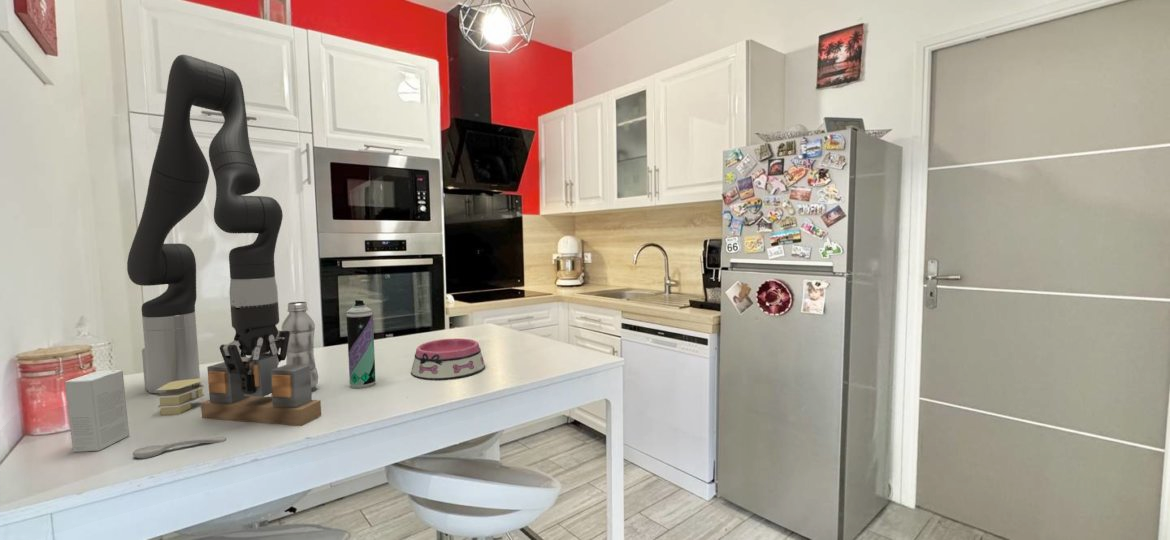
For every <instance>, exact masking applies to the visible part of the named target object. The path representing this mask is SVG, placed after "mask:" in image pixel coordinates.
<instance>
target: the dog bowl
mask: <svg viewBox="0 0 1170 540" xmlns="http://www.w3.org/2000/svg"><path fill="white" fill-rule="evenodd" d="M485 368H486V364H485V360H484V356H483V354H482V350H481V346H480V345H479V342H478V341H476V340H473V339H471V338H443V339H436V340H432V341H427V342H423V343H421V344H419V345H418V346H417V347H416V350H415V353H414V358H413V363H412V368H411V369H410V376H412V377H413V378H415V379H418V380H424V381H451V380H452V381H453V380H459V379H464V378H469V377H472V376H475V375H477V374H479V373H481V372H483V371H484V370H485Z"/></svg>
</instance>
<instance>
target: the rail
mask: <svg viewBox="0 0 1170 540" xmlns="http://www.w3.org/2000/svg"><path fill="white" fill-rule="evenodd" d="M206 368H207V383H208V392H209V393H208V395H209V397H208V398H209V399H207V400H205V401H201V402H200V408H201V409H200V410H201V418H202V419H210V420H220V421H221V420H224V421H235V422H249V423H261V424H262V423H263V424H277V425H291V426H301V427H302V426H304V425H306V424H308V423H310V422H311V421H313V420H315V419H317V418H320V417H322V404H321V403H322V401H321V400H320V399H319V400H318V399H312V398H313V397H312V389H311V376H310V365H290V364H287V365H286V364H284V365H281V366H278V368H275V369H272V370H270V371H271V387H272V393H271V396H264V397H254V396H244V393H243V392H242V391H241V383H240V375H239V374H229V372H228V370H227V367H226V364H225V362H224V361H222V362H219V363H216V364H213V365H209V366H207V367H206Z"/></svg>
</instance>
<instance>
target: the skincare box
mask: <svg viewBox="0 0 1170 540" xmlns="http://www.w3.org/2000/svg"><path fill="white" fill-rule="evenodd" d="M124 380H125V379H124V370H122V369H119V370H118V369H116V370H113V369H112V370H111V369H110V370H109V369H108V370H96V371H94V372H90V373H88V374H85V375H81V376H78V377H75V378H72V379H69V380H66V381H65V382H64V384H65V385H64V386H65V394H66V403H67V410H68V419H69V420H68V421H69V422H68V423H69V428H70V429H69V430H70V438H71V439H70V440H71V446H72V452H74V453H80V452H99V451H101V450H103V449H105V448H107V447H109V446H111V445H113V444H115V443H118V442H119V441H122V439H125V438H127V437H129V436H130V428H129V427H130V426H129V418H128V409H127V407H128V406H127V399H126V391H125V381H124Z"/></svg>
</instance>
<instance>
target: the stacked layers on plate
mask: <svg viewBox="0 0 1170 540" xmlns="http://www.w3.org/2000/svg"><path fill="white" fill-rule="evenodd" d="M202 381H204V379H203V378H201V377H200V378H198V379H188V380H179V381H173V382H170V383H167V384H166V385H164V386H162V387H160V388H159V389H157V390H166V391H165V392H163V393H159V394H158V395H156V399H159V405H158V406H156V407H157V409H160V415H161V416H167V415H169V416H170V415H181V414H182V413H184V412H186V411H188V410H189V409H191V408H192V403H193V402H195V401H198V400H201V399H203V398H204V397H206V395H205V394H203V388H204V387H205V385H204V384H201V382H202ZM197 382H200V384H199V383H198V384H197ZM194 383H196V384H195V385H193V384H194ZM191 384H192V385H191Z"/></svg>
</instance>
